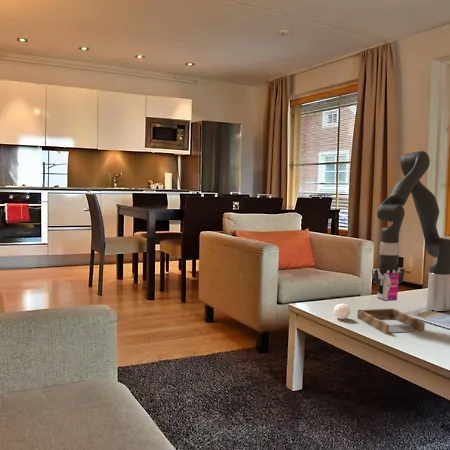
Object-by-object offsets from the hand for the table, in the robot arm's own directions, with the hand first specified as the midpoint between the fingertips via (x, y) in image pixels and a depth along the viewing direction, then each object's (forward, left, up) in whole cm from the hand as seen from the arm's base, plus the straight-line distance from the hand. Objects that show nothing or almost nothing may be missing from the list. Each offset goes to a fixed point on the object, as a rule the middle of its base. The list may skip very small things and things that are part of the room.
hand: (387, 293), depth 195 cm
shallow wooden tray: (0, +4, -12) cm, 13 cm away
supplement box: (0, 0, -3) cm, 3 cm away
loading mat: (0, +9, -12) cm, 15 cm away
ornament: (+16, -8, -13) cm, 22 cm away
